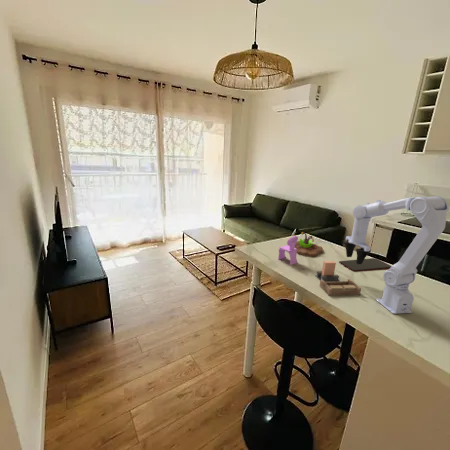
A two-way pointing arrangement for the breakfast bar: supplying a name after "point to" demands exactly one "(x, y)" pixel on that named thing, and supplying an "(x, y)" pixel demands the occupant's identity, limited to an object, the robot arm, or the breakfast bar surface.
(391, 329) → the breakfast bar surface
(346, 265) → the dark rectangular slab
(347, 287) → the offcut
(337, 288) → the offcut
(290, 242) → the toy chair
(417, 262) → the robot arm
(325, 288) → the brown shallow tray
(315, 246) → the plant
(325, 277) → the stand
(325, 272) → the salmon pink block
